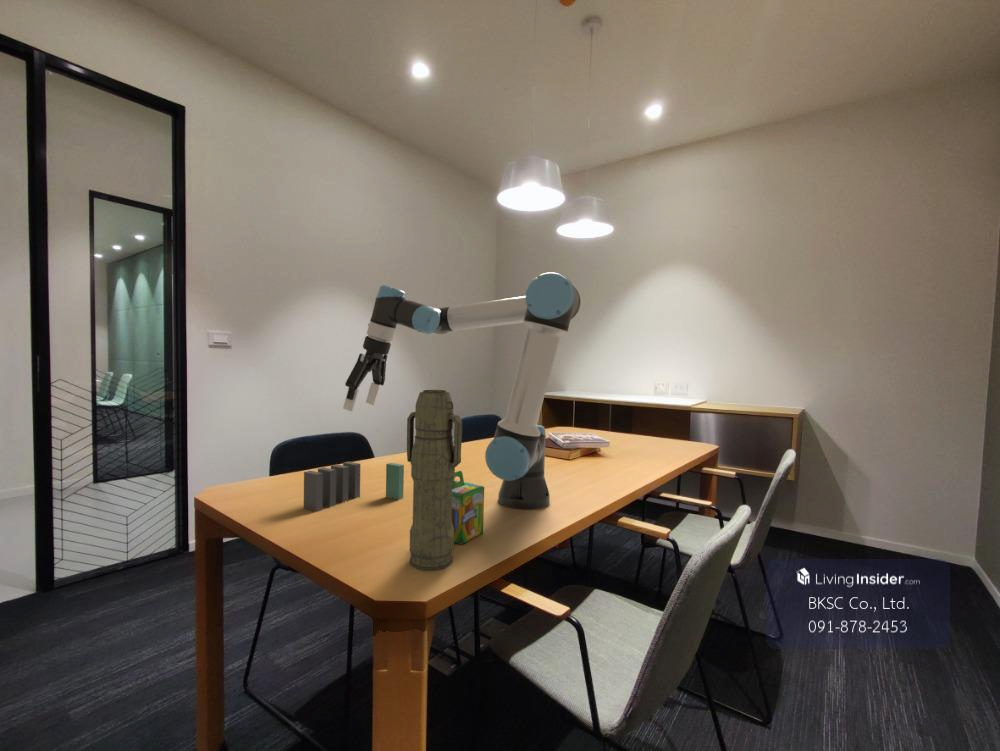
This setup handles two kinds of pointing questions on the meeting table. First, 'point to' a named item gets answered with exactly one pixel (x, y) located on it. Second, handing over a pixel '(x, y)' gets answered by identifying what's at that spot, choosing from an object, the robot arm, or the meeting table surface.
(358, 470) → the domino
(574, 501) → the meeting table surface
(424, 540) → the thermos
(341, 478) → the domino
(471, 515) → the chalk box
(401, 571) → the meeting table surface
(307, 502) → the domino
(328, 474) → the domino
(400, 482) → the green domino
